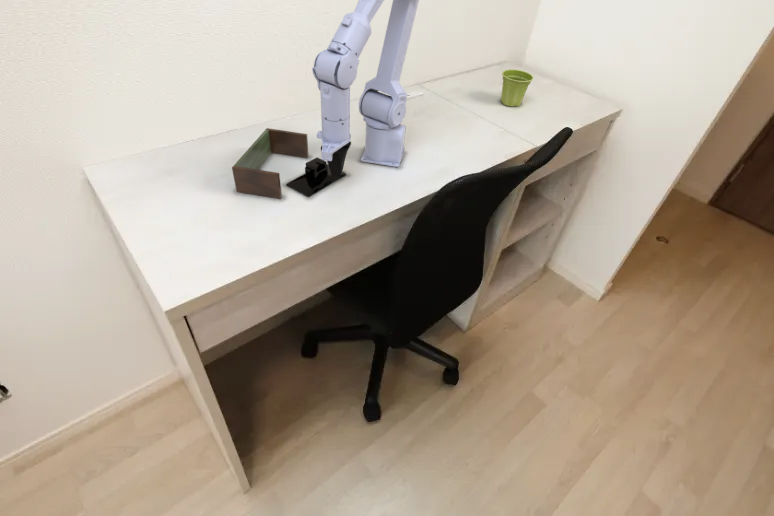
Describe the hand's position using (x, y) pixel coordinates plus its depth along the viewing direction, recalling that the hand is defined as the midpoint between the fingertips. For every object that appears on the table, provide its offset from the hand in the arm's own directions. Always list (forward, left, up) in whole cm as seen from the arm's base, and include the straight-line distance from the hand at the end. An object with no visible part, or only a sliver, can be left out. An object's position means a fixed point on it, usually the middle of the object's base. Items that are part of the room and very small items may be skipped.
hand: (336, 173), depth 98 cm
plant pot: (-40, -60, -3) cm, 72 cm away
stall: (+15, 0, -2) cm, 15 cm away
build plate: (+5, 0, -3) cm, 5 cm away
